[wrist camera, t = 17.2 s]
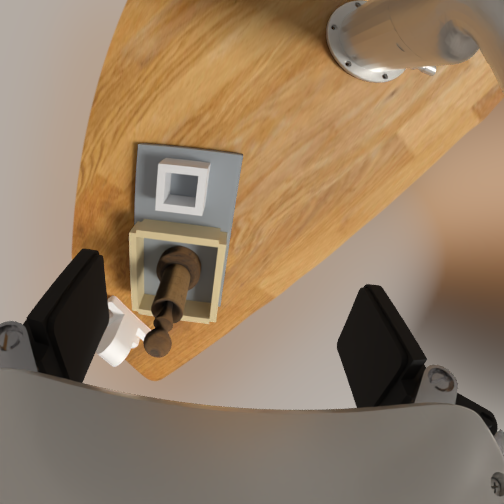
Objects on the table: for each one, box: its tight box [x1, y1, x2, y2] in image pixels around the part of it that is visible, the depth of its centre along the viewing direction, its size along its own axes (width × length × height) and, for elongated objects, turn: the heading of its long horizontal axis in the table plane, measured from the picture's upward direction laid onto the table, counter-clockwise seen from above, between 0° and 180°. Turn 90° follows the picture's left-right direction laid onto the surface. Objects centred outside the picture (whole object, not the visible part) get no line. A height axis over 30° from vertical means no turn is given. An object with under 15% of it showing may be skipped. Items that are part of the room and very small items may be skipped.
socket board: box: [129, 143, 243, 324], centre depth 42 cm, size 14×24×5 cm, turn 171°
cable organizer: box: [96, 296, 151, 367], centre depth 47 cm, size 5×10×10 cm, turn 35°
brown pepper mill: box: [144, 246, 201, 357], centre depth 37 cm, size 7×6×18 cm
